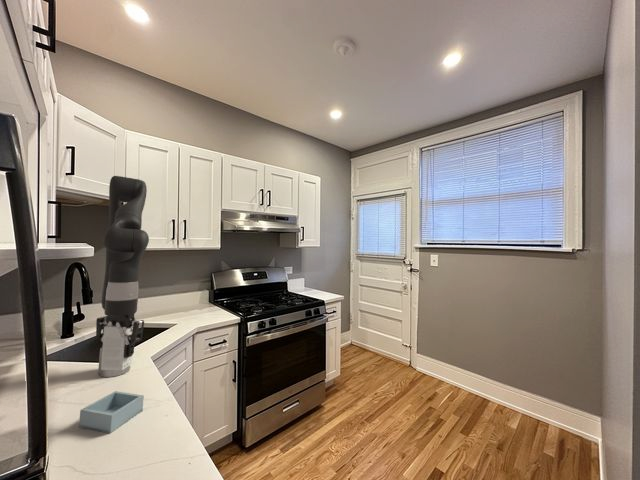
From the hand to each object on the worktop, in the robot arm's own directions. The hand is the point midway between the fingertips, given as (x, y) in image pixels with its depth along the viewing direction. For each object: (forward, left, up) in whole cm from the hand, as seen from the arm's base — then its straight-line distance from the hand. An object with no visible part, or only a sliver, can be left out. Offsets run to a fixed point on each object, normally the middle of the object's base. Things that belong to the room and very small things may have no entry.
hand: (117, 355), depth 75 cm
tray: (0, 0, -18) cm, 18 cm away
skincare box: (0, 0, -4) cm, 4 cm away
